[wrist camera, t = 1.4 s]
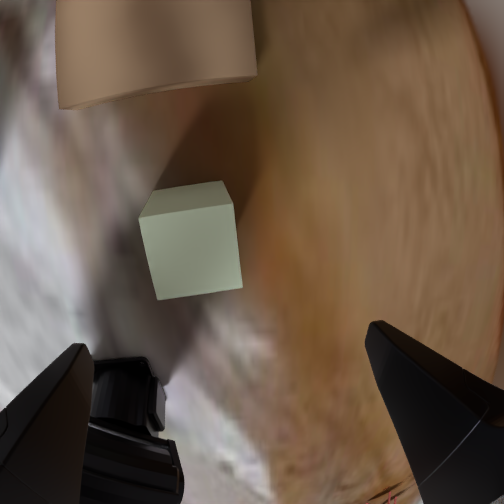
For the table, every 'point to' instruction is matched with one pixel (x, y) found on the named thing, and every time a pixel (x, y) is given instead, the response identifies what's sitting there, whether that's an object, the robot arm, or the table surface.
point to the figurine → (389, 498)
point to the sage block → (191, 240)
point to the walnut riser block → (149, 47)
